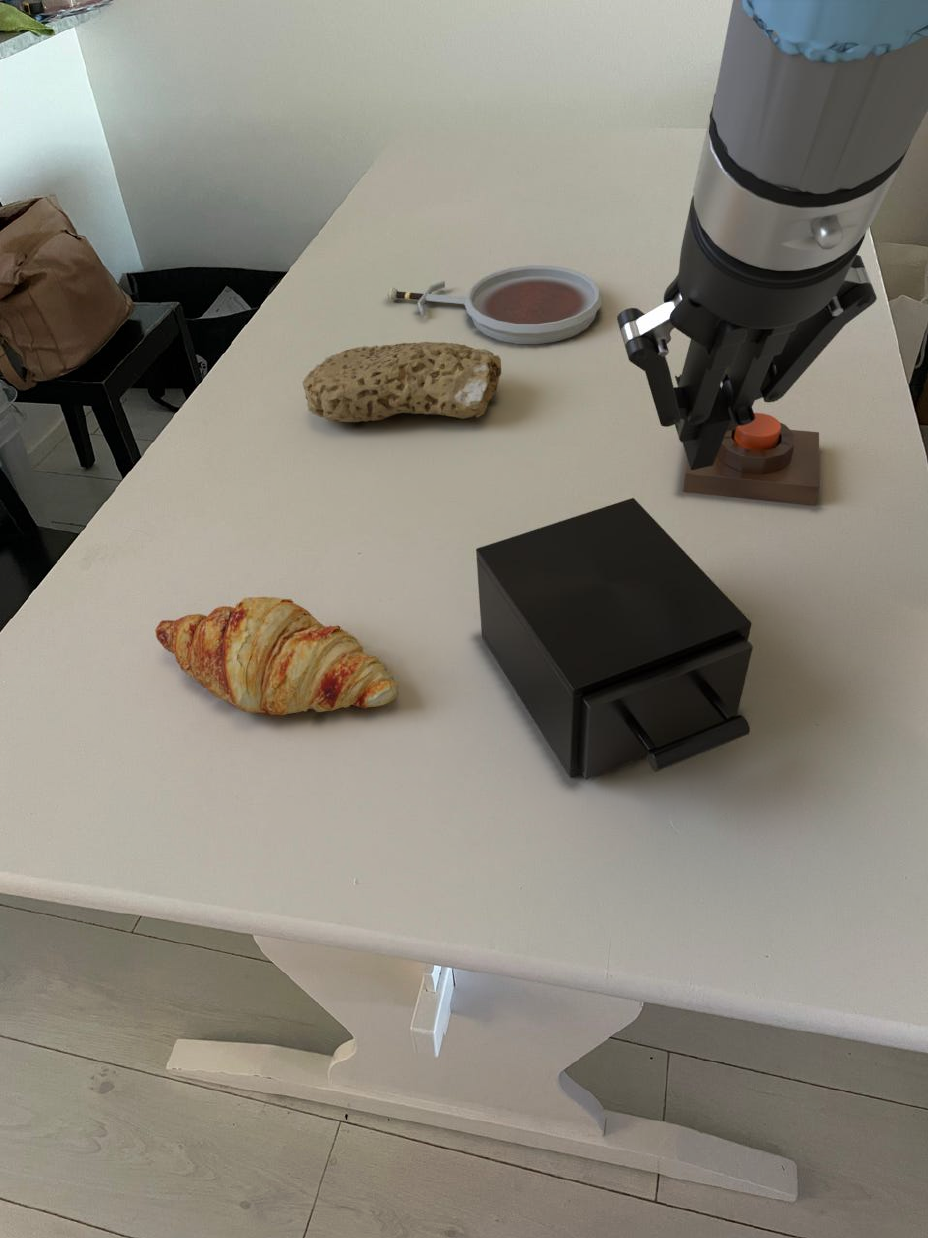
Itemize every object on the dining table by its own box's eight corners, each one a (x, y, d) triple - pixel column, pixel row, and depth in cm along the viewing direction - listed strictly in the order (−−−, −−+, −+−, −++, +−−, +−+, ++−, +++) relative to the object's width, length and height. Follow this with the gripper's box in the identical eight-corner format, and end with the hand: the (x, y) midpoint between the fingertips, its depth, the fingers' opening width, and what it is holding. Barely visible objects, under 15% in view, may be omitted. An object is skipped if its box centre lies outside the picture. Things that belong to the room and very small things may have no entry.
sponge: (500, 391, 105) (334, 346, 107) (509, 337, 99) (332, 290, 100) (469, 474, 98) (292, 425, 100) (477, 422, 92) (287, 370, 93)
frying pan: (408, 254, 125) (615, 266, 117) (411, 275, 127) (614, 288, 119) (361, 313, 113) (586, 330, 106) (364, 335, 115) (585, 353, 108)
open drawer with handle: (771, 762, 65) (792, 689, 59) (616, 827, 62) (623, 757, 56) (634, 597, 77) (641, 524, 72) (499, 645, 74) (495, 573, 69)
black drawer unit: (732, 713, 69) (752, 622, 62) (570, 778, 66) (573, 690, 59) (625, 586, 80) (633, 497, 73) (481, 637, 76) (475, 548, 70)
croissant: (416, 707, 76) (426, 615, 73) (368, 757, 67) (377, 654, 64) (190, 653, 81) (192, 565, 79) (117, 692, 72) (116, 595, 69)
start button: (778, 430, 88) (781, 414, 87) (777, 454, 86) (780, 438, 84) (735, 426, 89) (737, 410, 88) (732, 449, 87) (735, 434, 85)
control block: (814, 450, 92) (823, 416, 89) (814, 506, 86) (823, 470, 83) (691, 439, 94) (695, 405, 92) (682, 492, 88) (687, 457, 86)
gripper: (654, 314, 39) (615, 522, 61) (963, 242, 38) (809, 478, 61) (609, 170, 41) (588, 422, 63) (902, 100, 40) (775, 379, 63)
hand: (696, 449), depth 62 cm, fingers closed
